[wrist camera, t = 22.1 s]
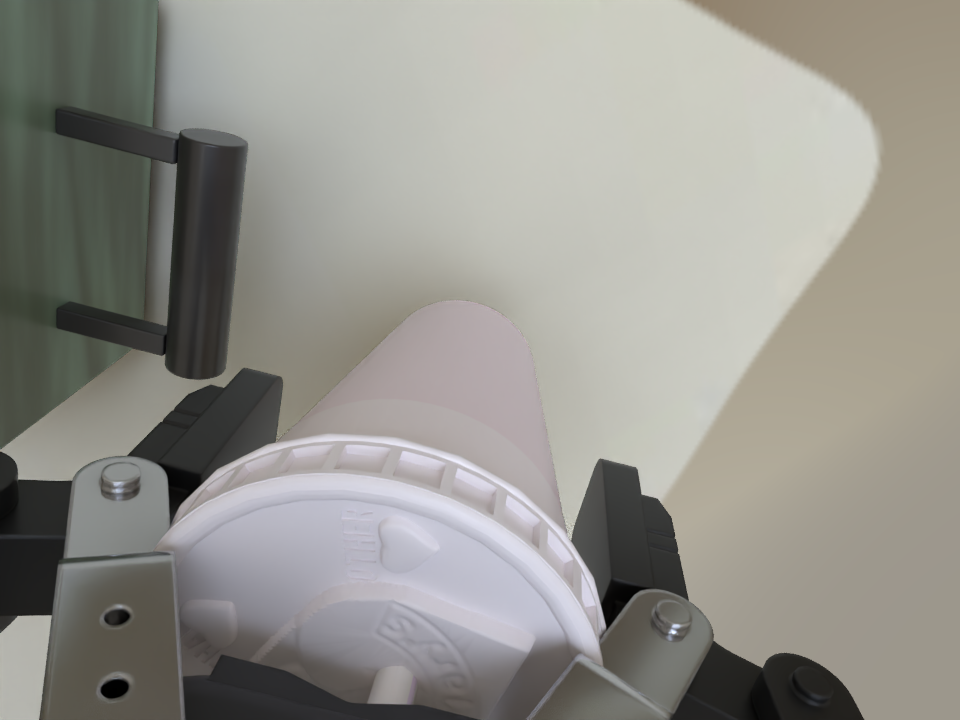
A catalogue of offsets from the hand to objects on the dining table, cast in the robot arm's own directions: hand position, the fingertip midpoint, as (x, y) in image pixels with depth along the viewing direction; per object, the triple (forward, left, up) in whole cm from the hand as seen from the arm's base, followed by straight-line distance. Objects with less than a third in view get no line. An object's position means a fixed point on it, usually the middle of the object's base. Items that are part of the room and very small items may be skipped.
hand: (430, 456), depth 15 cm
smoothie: (0, 0, -4) cm, 4 cm away
